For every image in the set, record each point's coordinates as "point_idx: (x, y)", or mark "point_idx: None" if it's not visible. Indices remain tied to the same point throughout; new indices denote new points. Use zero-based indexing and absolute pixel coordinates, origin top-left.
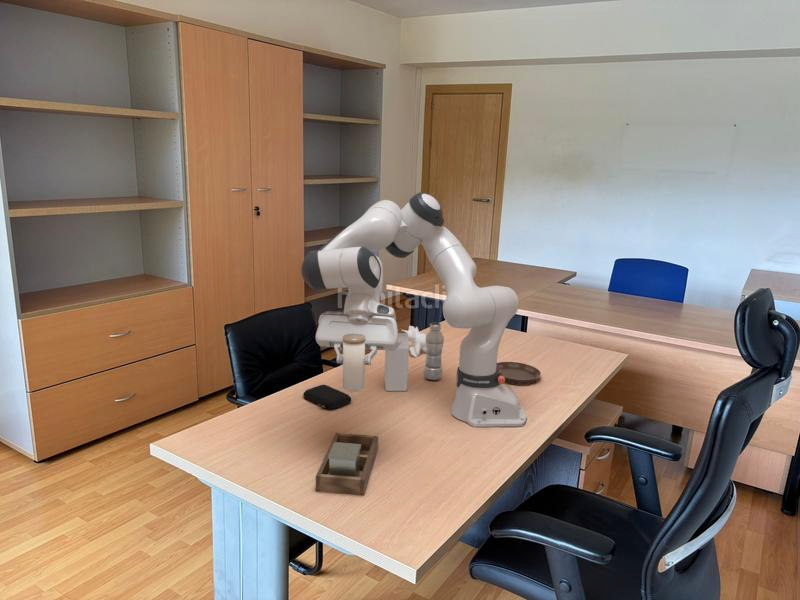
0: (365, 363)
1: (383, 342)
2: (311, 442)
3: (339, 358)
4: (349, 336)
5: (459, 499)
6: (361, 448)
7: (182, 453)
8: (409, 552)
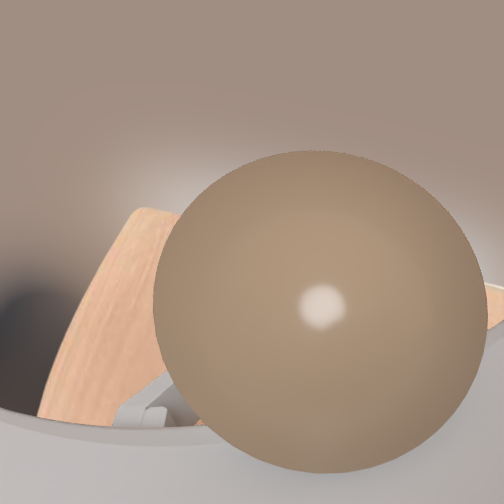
0: None
1: (32, 422)
2: None
3: None
4: (414, 268)
5: (89, 331)
6: None
7: (494, 293)
8: (142, 220)
